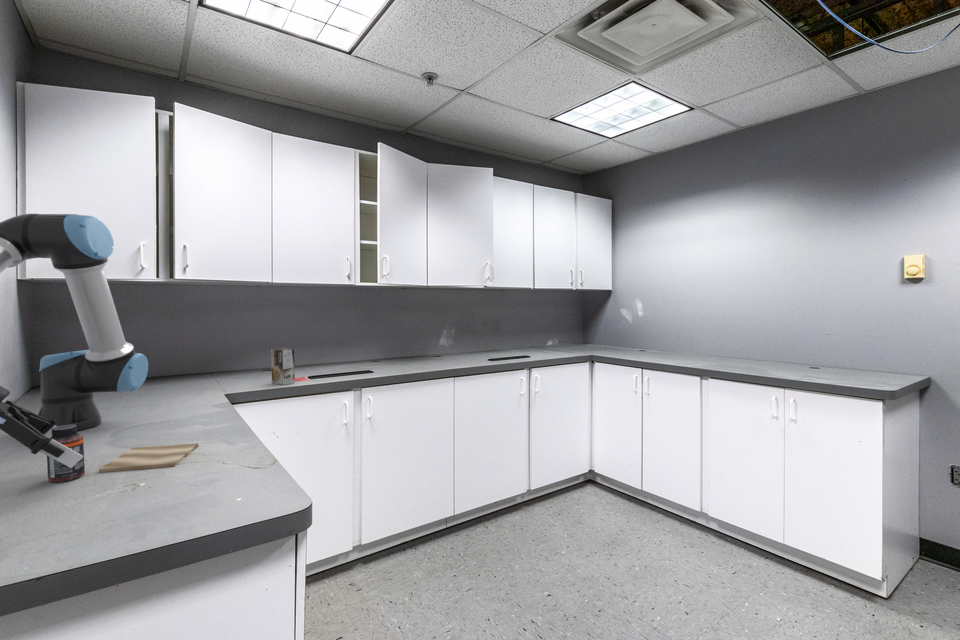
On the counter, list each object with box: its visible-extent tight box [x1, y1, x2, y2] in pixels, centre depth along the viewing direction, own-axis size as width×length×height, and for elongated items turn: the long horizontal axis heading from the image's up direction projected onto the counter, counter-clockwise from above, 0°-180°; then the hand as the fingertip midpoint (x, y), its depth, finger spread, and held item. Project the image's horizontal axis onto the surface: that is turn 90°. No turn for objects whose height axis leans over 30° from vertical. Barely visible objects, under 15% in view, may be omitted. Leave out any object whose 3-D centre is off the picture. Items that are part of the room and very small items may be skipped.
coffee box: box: [270, 347, 296, 386], centre depth 211 cm, size 9×6×16 cm
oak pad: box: [98, 442, 199, 473], centre depth 110 cm, size 15×15×1 cm
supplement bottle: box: [46, 425, 86, 483], centre depth 98 cm, size 6×6×11 cm
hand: (77, 454), depth 99 cm, fingers open, 13 cm apart
